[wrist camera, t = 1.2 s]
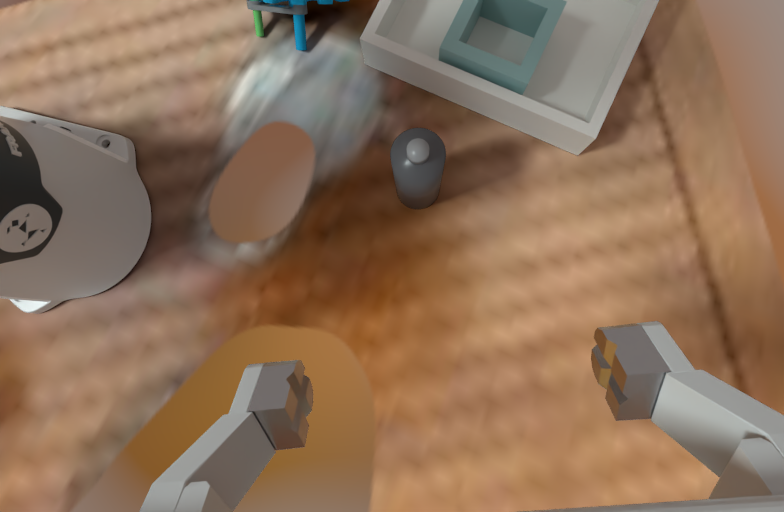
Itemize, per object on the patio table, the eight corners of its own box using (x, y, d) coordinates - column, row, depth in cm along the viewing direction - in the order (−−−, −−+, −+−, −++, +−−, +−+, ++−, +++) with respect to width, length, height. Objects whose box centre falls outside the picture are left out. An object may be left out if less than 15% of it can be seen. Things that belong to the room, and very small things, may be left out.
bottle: (389, 198, 40) (380, 162, 30) (407, 160, 40) (404, 113, 30) (427, 216, 39) (431, 186, 29) (446, 178, 39) (456, 135, 30)
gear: (368, -23, 40) (321, -13, 33) (367, 45, 44) (325, 68, 37) (266, -32, 43) (201, -25, 35) (273, 33, 47) (216, 52, 39)
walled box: (365, 64, 41) (357, 31, 36) (435, -73, 42) (437, -123, 37) (577, 155, 39) (600, 133, 34) (645, 8, 40) (677, -34, 35)
